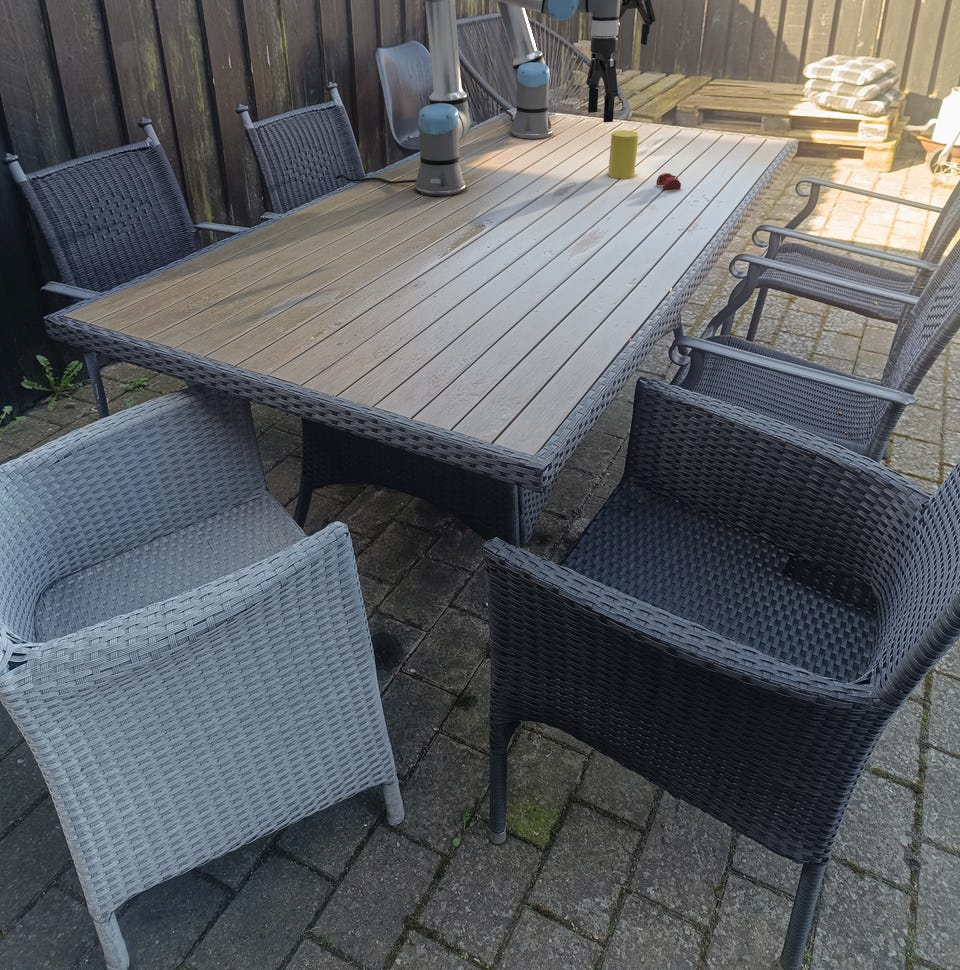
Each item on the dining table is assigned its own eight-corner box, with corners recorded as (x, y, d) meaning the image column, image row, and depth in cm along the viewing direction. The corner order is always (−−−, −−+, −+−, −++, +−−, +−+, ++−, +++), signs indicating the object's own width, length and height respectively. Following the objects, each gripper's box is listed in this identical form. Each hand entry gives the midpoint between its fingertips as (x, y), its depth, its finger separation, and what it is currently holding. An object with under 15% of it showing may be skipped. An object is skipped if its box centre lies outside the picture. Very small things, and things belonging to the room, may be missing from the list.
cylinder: (604, 176, 270) (607, 134, 263) (614, 169, 276) (617, 129, 269) (628, 179, 267) (632, 138, 260) (638, 173, 273) (642, 132, 266)
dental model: (672, 169, 261) (683, 176, 255) (671, 183, 263) (682, 190, 257) (655, 171, 260) (666, 178, 254) (654, 185, 262) (665, 192, 256)
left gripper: (633, 42, 228) (627, 125, 240) (602, 30, 248) (598, 107, 260) (607, 43, 226) (602, 127, 239) (577, 31, 246) (574, 109, 259)
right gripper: (610, -20, 288) (605, 49, 300) (670, -23, 297) (662, 44, 309) (598, -22, 293) (593, 46, 306) (657, -25, 302) (650, 41, 315)
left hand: (600, 117), depth 249 cm, fingers open, 13 cm apart
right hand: (628, 45), depth 308 cm, fingers open, 13 cm apart
